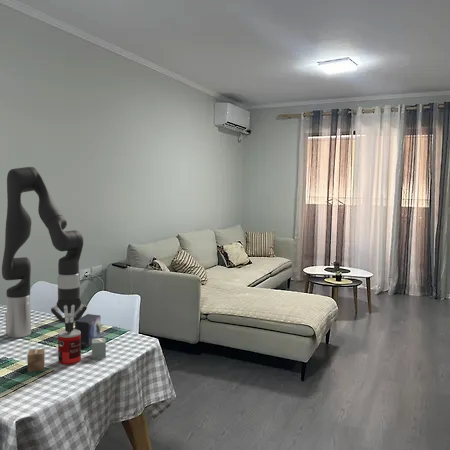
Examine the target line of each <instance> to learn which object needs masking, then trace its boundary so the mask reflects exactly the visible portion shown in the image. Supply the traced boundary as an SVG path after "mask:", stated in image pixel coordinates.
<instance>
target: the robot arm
mask: <svg viewBox="0 0 450 450" xmlns="http://www.w3.org/2000/svg"><path fill="white" fill-rule="evenodd" d="M27 192H34V193H36V195H37V196H38V211H37V212H38V215H39V218H40V220H41V221H42V223H43V225H44V226H45V227H46V228H47V231H48V234H49V236H50V237H49V238H50V239H51V243H52V246H53V247H54V248H55V250H56V251H59V252H66V254H65V255H64V256H62V257H60V258H59V259H58V268H57V269H58V271H57V272H58V274H57V275H58V276H57V302H56V304H55V306H53V307H50V312H51V313H52V314H53V315H54V316H55V318H57V320H58V321H59V322H61V323H64V330H65V331H67V333H71V331H73V329H74V323H75V321H77V320H79V319H80V318H81V317H83V315H84V313H85V312H86V311H87V309H88V306H87V305H86V304H83V303H82V300H81V293H80V292H81V288H80V286H81V283H80V280H81V278H80V265H79V264H80V259H81V256H82V255H81V254H82V251H83V247H84V237H83V235H82V233H81V232H80V231H78V230H75V229H74V230H67V231H64V230H65V229H66V227H67V226H68V222H67V219H66V218H65V216H63V214H62V213H61V210H60V209H59V208H58V206H57V205H56V203H55V202H54V199H53V198H52V195H51V193H50V191H49V189H48V187H47V185H46V183H45V180H44V179H43V176H42V175H41V173H40V171H39V170H38V169H37V168H36V167H34V166H26V167H24V166H23V167H18V168H16V167H15V168H12V169H10V170H9V171H8V172H7V176H6V194H7V196H6V197H7V202H6V203H7V209H6V220H5V233H4V235H5V236H4V238H5V239H4V251H3V257H2V264H1V275H2V279H3V280H5V281H18V280H20V281H19V282H18V283H16V284H15V285H13V286H10V287H9V288H7V289H6V293H5V294H6V313H5V314H4V315H5V335H6V336H7V337H8V338H11V339H12V338H13V339H14V338H15V339H17V338H18V339H19V338H24V337H28V336H30V335H31V334H32V319H31V318H32V315H31V314H32V312H31V311H32V310H31V309H32V308H31V307H32V305H31V304H32V303H31V273H32V265H31V264H32V263H31V260H30V258H29V257H26V256H25V257H24V256H21V257H15V256H16V254H17V252H18V250H19V249H20V248H21V247H23V245H24V244H25V243H26V242H27V241H28V239H29V238H30V236H31V232H32V218H31V215H30V213H28V211H27V210H26V208H25V207H24V206H23V204H22V201H21V197H22V194H23V193H27ZM78 309H79V311H78V312H77V310H78ZM59 310H60V312H61V313H62V314H64V317H63V316H62V315H61V314H60V312H59ZM76 312H77V314H76V315H75V313H76Z"/></svg>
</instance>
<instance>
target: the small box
mask: <svg viewBox="0 0 450 450" xmlns="http://www.w3.org/2000/svg"><path fill="white" fill-rule="evenodd" d="M74 329H77V330H80V331H81V348H82V347H83V348H89V347H92V339H97V338H101V315H98V314H93V313H91V314H90V313H87V314H85V315H82V316H81V317H80V318H79V320H77V321H74Z"/></svg>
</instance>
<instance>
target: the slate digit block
mask: <svg viewBox="0 0 450 450" xmlns="http://www.w3.org/2000/svg"><path fill="white" fill-rule="evenodd" d="M106 342H107V338H106V337H100V338H97V339H92V345H91V359H94V360H95V359H105V358H107V350H106V349H107V348H106V347H107V343H106Z"/></svg>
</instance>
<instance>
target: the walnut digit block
mask: <svg viewBox="0 0 450 450" xmlns="http://www.w3.org/2000/svg"><path fill="white" fill-rule="evenodd" d="M26 357H27V372H29V373H30V372H31V371H32V372H40V371H42V370H43V371H44V369H45V365H46V364H45V348H39V349H38V348H37V349H36V348H35V349H29V350H28V353H27V356H26Z"/></svg>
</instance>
